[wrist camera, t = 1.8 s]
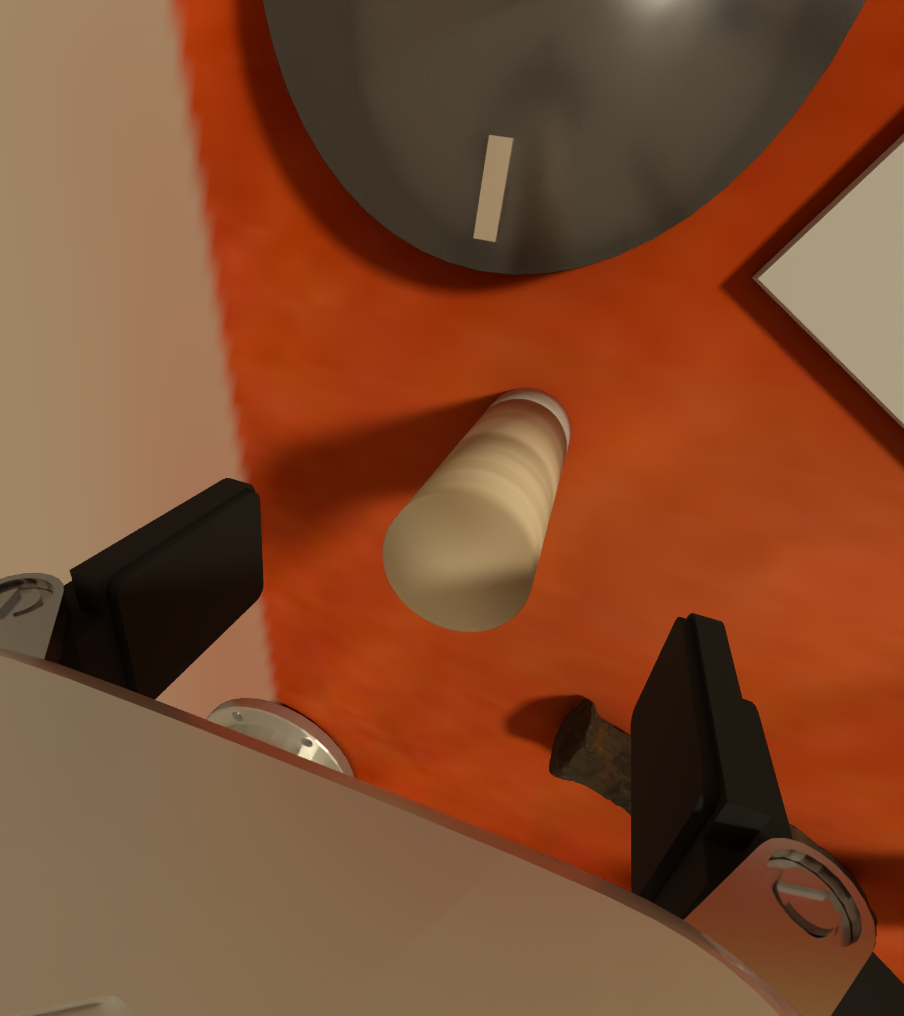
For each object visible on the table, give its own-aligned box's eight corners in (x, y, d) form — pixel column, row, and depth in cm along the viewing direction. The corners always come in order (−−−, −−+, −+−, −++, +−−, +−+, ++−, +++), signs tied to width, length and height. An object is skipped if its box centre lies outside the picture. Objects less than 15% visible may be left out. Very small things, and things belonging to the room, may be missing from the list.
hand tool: (548, 723, 31) (537, 793, 27) (587, 686, 29) (582, 755, 25) (816, 893, 31) (845, 988, 27) (874, 868, 29) (914, 966, 25)
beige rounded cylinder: (528, 489, 25) (464, 655, 15) (465, 432, 25) (355, 562, 14) (589, 430, 23) (567, 575, 13) (523, 368, 23) (443, 464, 12)
